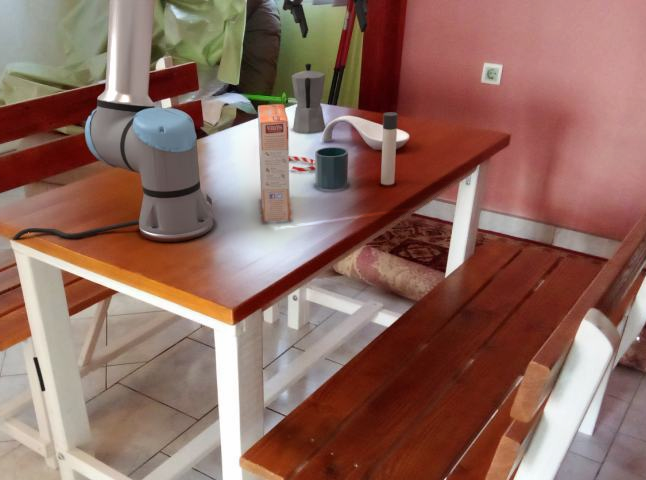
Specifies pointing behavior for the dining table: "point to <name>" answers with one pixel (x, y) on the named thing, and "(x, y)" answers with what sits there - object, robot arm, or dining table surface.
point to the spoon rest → (366, 132)
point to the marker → (389, 147)
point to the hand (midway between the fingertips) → (335, 31)
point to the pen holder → (331, 168)
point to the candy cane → (293, 158)
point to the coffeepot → (308, 101)
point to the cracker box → (274, 162)
